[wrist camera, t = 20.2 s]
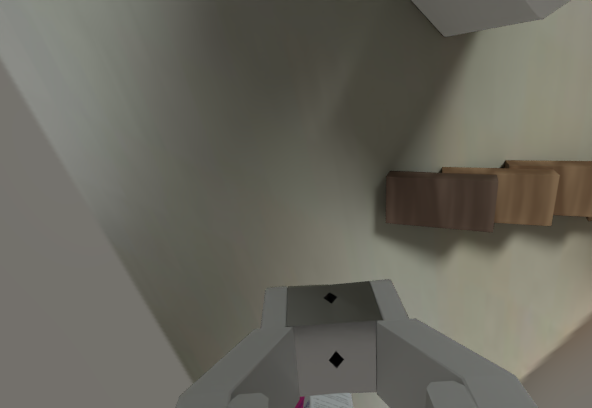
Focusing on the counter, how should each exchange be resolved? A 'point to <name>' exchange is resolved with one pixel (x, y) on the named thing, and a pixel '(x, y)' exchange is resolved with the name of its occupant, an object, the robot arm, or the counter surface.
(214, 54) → the counter surface
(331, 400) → the supplement box
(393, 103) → the counter surface
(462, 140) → the counter surface
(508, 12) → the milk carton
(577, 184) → the tile
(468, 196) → the tile
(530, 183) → the tile
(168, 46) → the counter surface
